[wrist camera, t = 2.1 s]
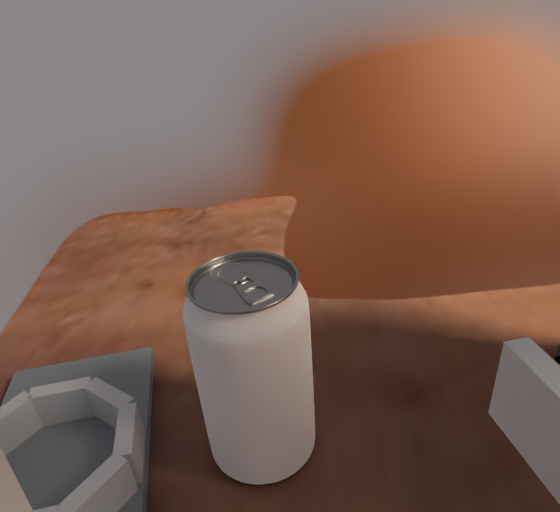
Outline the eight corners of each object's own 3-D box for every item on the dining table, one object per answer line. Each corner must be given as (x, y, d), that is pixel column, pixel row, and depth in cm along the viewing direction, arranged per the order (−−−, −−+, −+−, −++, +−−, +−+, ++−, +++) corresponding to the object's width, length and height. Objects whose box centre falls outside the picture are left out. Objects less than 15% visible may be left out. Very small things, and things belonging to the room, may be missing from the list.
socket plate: (154, 356, 36) (144, 320, 35) (138, 674, 19) (117, 634, 17) (19, 381, 35) (2, 345, 33) (-128, 748, 18) (-178, 713, 16)
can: (277, 386, 33) (262, 235, 27) (337, 449, 28) (335, 281, 22) (193, 433, 30) (155, 274, 24) (245, 512, 25) (214, 338, 19)
